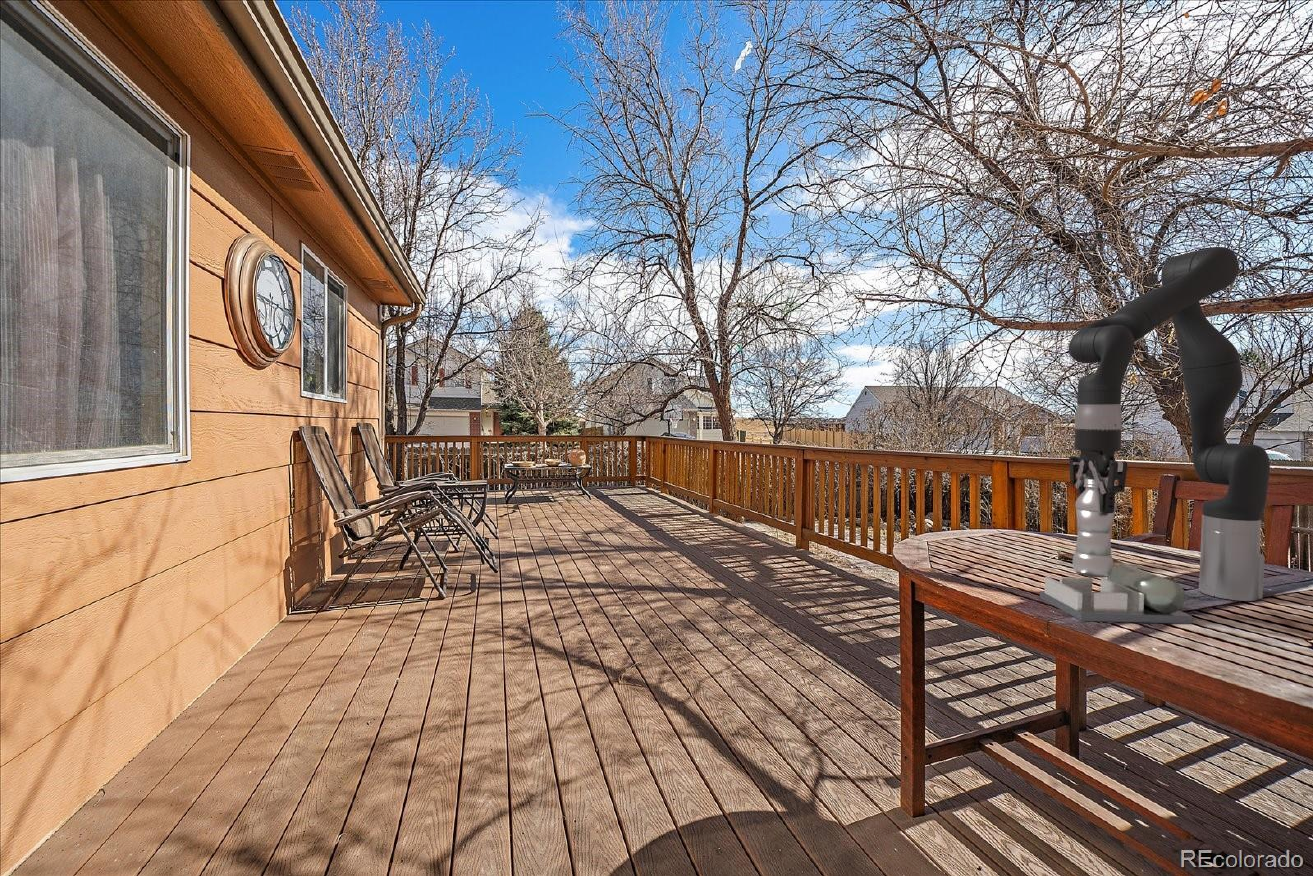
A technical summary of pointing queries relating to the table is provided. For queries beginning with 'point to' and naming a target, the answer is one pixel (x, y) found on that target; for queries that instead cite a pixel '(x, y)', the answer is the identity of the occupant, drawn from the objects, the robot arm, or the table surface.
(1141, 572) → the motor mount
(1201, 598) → the table surface
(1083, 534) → the plastic bottle
